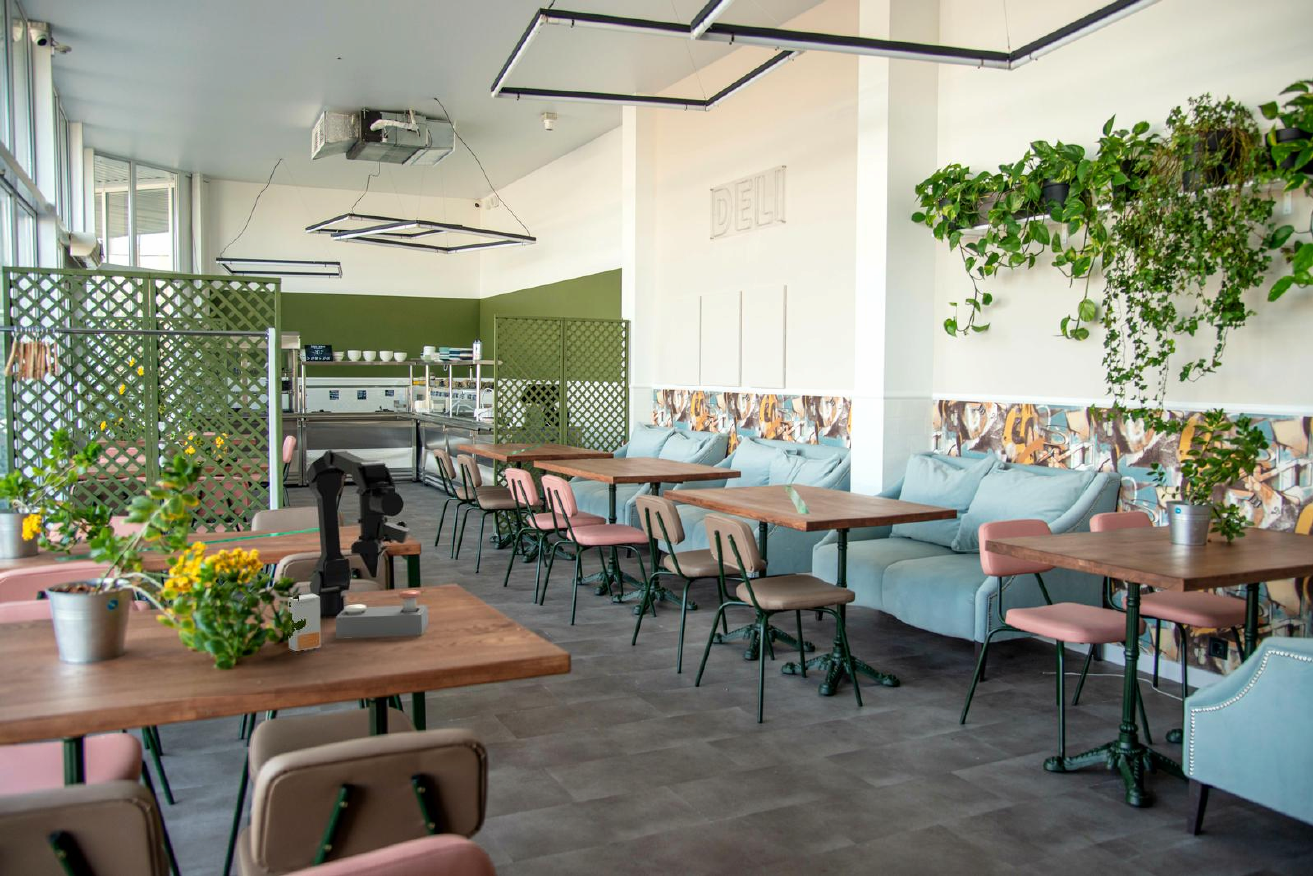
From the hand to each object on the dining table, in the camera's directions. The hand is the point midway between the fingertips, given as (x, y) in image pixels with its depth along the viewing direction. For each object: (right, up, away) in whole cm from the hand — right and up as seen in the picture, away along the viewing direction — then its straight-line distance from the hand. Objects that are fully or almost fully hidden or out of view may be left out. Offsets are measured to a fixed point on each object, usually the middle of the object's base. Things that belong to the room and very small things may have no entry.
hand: (374, 577), depth 231 cm
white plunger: (-5, -12, +1) cm, 13 cm away
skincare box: (-12, -15, -13) cm, 23 cm away
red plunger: (+8, -9, +2) cm, 12 cm away
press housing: (+2, -13, +1) cm, 14 cm away
